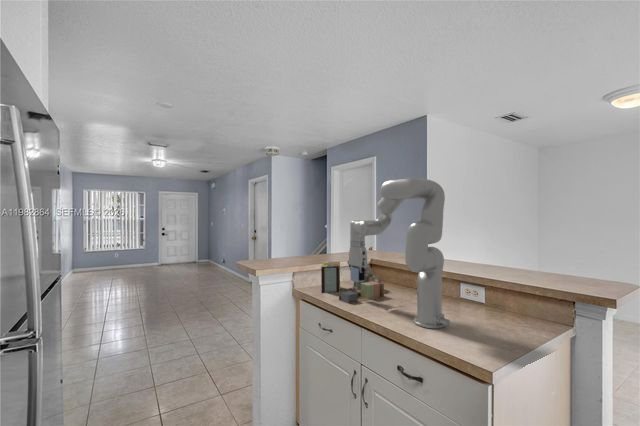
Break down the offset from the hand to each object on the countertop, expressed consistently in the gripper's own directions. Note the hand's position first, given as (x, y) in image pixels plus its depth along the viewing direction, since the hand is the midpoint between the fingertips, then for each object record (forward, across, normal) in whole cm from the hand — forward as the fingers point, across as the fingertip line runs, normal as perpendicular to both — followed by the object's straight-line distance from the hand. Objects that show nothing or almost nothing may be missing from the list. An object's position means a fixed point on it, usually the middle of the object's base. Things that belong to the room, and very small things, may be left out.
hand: (357, 278), depth 159 cm
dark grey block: (+11, 0, +6) cm, 12 cm away
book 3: (+11, 0, -11) cm, 15 cm away
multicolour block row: (+12, 0, -3) cm, 12 cm away
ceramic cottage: (+12, +12, -18) cm, 25 cm away
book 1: (+1, 0, 0) cm, 1 cm away
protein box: (+12, +26, -2) cm, 28 cm away
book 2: (+11, 0, -6) cm, 12 cm away
